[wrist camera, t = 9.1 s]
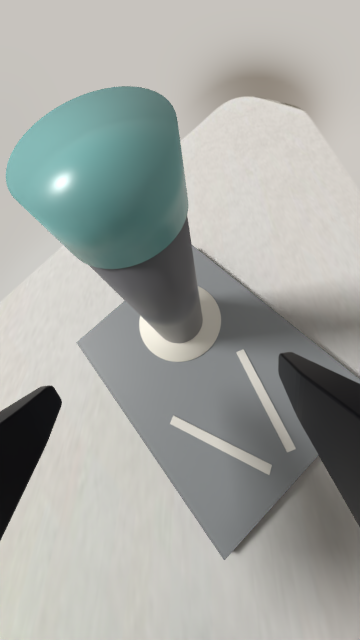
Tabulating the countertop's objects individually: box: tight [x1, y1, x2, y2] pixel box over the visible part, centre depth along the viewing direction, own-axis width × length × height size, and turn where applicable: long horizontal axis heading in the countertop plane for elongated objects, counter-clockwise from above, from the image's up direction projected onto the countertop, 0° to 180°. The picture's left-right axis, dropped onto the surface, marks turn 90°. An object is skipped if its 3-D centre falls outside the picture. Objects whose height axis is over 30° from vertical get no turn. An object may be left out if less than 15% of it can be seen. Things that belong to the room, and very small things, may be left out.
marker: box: [6, 86, 203, 343], centre depth 11 cm, size 4×4×13 cm
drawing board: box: [76, 245, 360, 560], centre depth 16 cm, size 18×14×1 cm
